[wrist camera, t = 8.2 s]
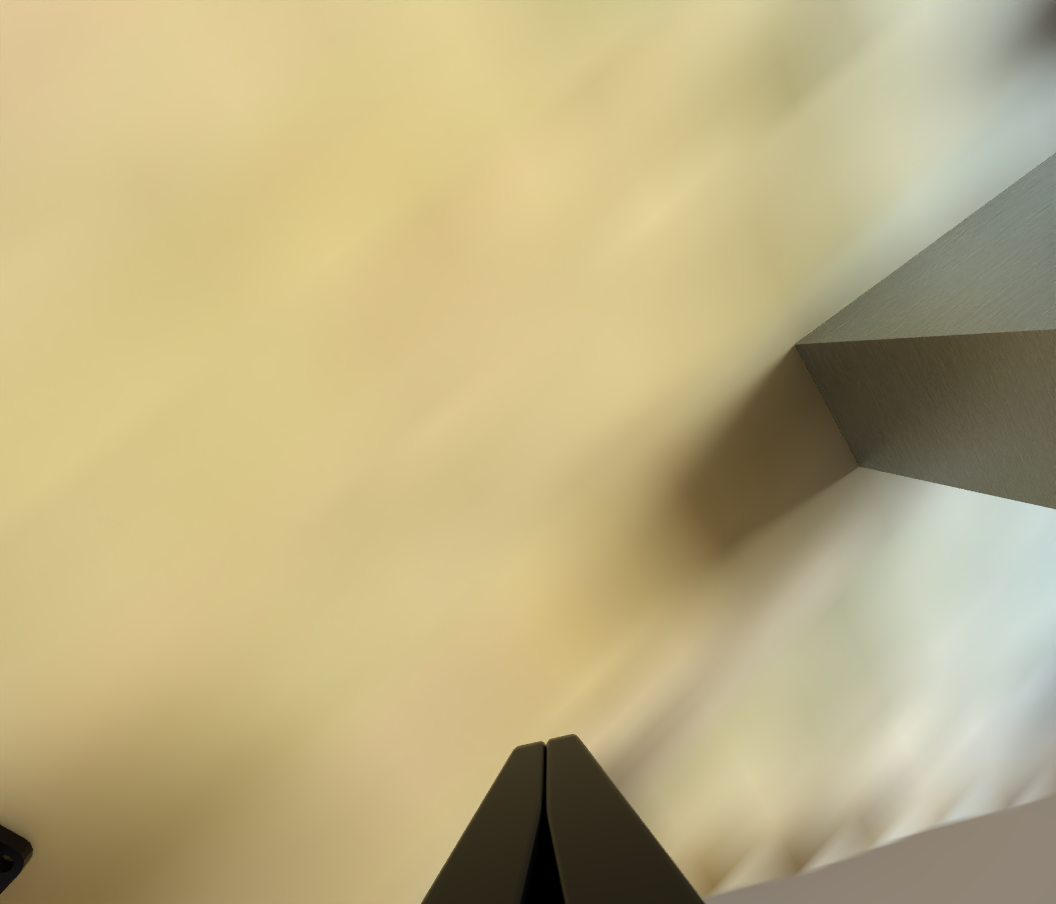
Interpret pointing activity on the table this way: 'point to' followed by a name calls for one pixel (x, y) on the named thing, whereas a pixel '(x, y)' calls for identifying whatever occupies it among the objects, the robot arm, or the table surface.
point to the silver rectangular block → (956, 354)
